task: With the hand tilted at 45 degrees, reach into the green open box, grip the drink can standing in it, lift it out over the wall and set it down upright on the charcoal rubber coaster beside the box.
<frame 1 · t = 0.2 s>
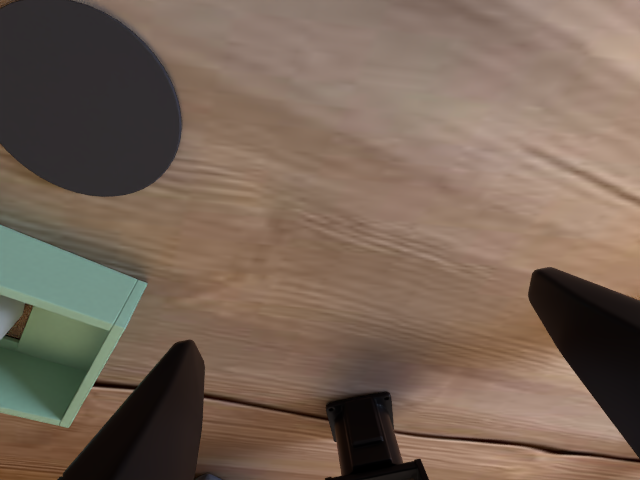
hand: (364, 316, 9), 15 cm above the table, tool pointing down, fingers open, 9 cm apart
coaster: (85, 109, 19), on the table
green open box: (6, 295, 25), on the table
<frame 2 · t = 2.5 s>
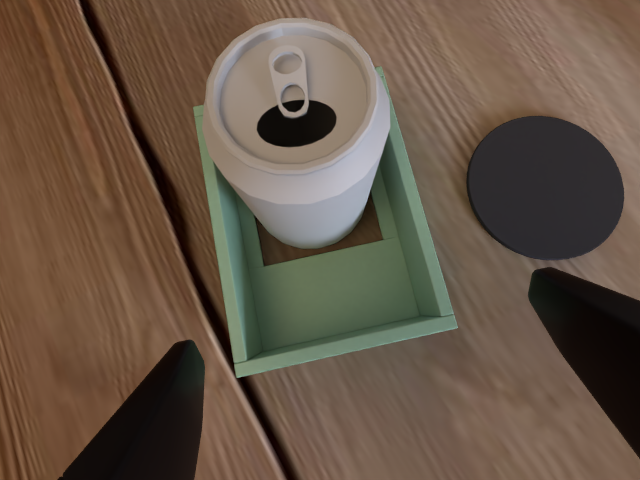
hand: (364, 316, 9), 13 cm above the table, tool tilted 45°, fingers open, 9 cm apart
can: (311, 198, 24), resting in green open box
coaster: (542, 186, 24), on the table
green open box: (318, 227, 24), on the table
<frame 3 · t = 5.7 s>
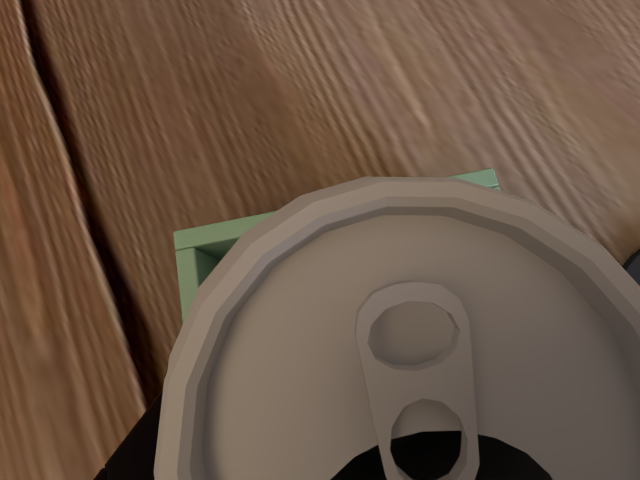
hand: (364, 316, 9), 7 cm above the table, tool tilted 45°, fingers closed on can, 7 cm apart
can: (357, 349, 16), resting in green open box, touching gripper
green open box: (370, 403, 15), on the table
when the fingers open (7 cm above the table, at t = 12.8 s): can stays where it is, resting on coaster.
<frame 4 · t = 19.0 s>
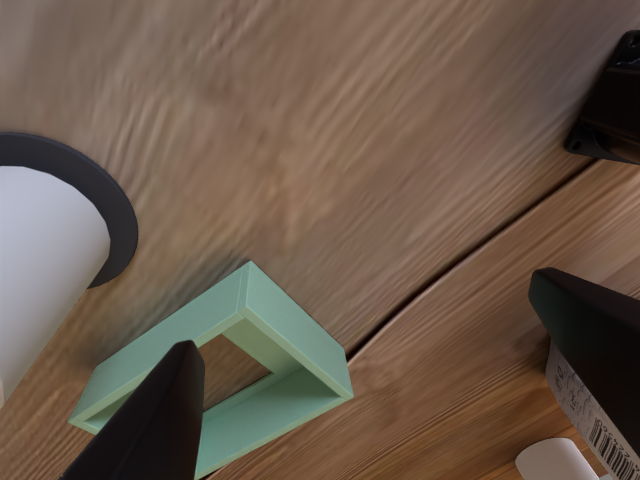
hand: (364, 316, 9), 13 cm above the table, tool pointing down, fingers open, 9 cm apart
can: (46, 221, 20), resting on coaster
coaster: (45, 219, 20), on the table
juice carton: (590, 339, 32), on the table
green open box: (224, 356, 28), on the table
cylindrical container: (543, 452, 43), on the table
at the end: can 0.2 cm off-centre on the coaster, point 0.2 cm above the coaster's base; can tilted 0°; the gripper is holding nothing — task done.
